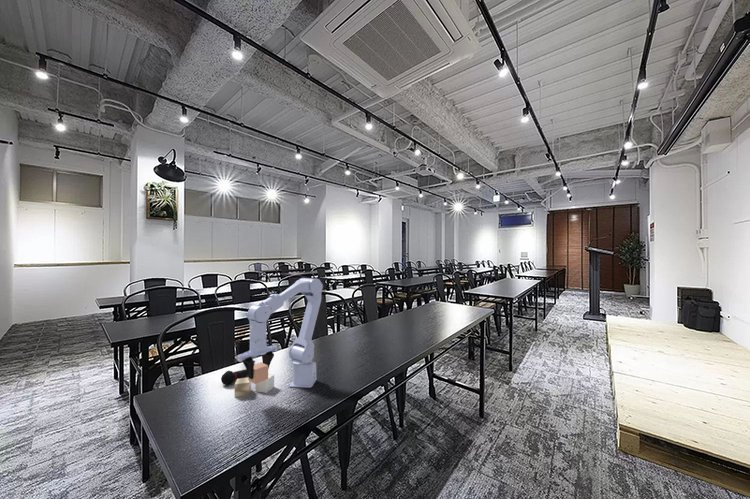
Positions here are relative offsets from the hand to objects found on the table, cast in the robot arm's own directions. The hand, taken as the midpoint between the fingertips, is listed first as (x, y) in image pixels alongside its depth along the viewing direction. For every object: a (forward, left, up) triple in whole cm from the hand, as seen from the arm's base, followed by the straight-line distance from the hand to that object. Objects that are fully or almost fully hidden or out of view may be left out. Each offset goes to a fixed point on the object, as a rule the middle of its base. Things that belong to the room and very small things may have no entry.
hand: (258, 375), depth 105 cm
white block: (+2, -10, -10) cm, 14 cm away
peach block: (0, 0, -2) cm, 2 cm away
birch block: (+9, -6, -10) cm, 15 cm away
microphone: (+17, -20, -10) cm, 28 cm away
